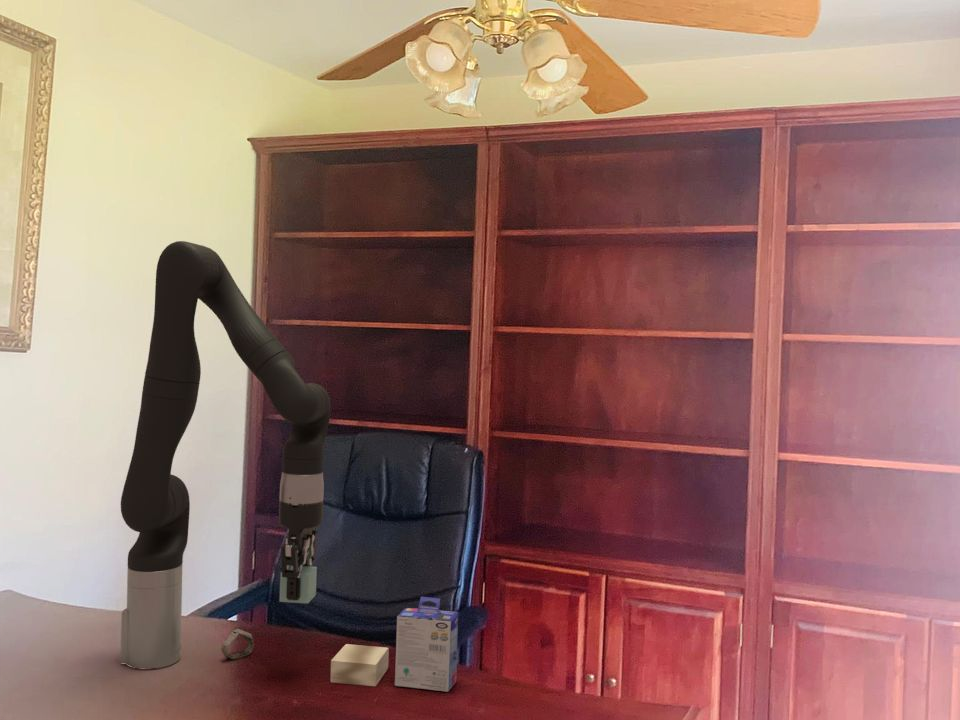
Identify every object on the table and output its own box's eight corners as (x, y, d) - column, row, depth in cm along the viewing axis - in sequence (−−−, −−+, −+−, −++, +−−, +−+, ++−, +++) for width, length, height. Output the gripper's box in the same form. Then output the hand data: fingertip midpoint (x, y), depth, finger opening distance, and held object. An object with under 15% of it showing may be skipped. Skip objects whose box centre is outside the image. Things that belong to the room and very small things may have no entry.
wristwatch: (257, 654, 152) (257, 627, 152) (229, 664, 147) (229, 636, 147) (244, 649, 154) (245, 623, 154) (217, 659, 149) (217, 632, 149)
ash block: (330, 683, 141) (331, 660, 141) (345, 665, 149) (345, 643, 149) (375, 688, 140) (376, 664, 139) (388, 669, 147) (388, 647, 147)
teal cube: (279, 601, 141) (280, 572, 141) (288, 592, 146) (289, 565, 146) (307, 603, 141) (309, 574, 141) (315, 594, 146) (316, 566, 146)
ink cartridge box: (457, 680, 143) (460, 597, 143) (450, 693, 138) (452, 607, 137) (403, 674, 145) (405, 592, 145) (393, 687, 140) (396, 602, 139)
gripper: (292, 489, 151) (289, 581, 151) (266, 504, 136) (263, 606, 137) (333, 491, 150) (329, 584, 151) (311, 507, 136) (307, 609, 136)
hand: (297, 594), depth 144 cm, fingers closed on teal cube, 5 cm apart
